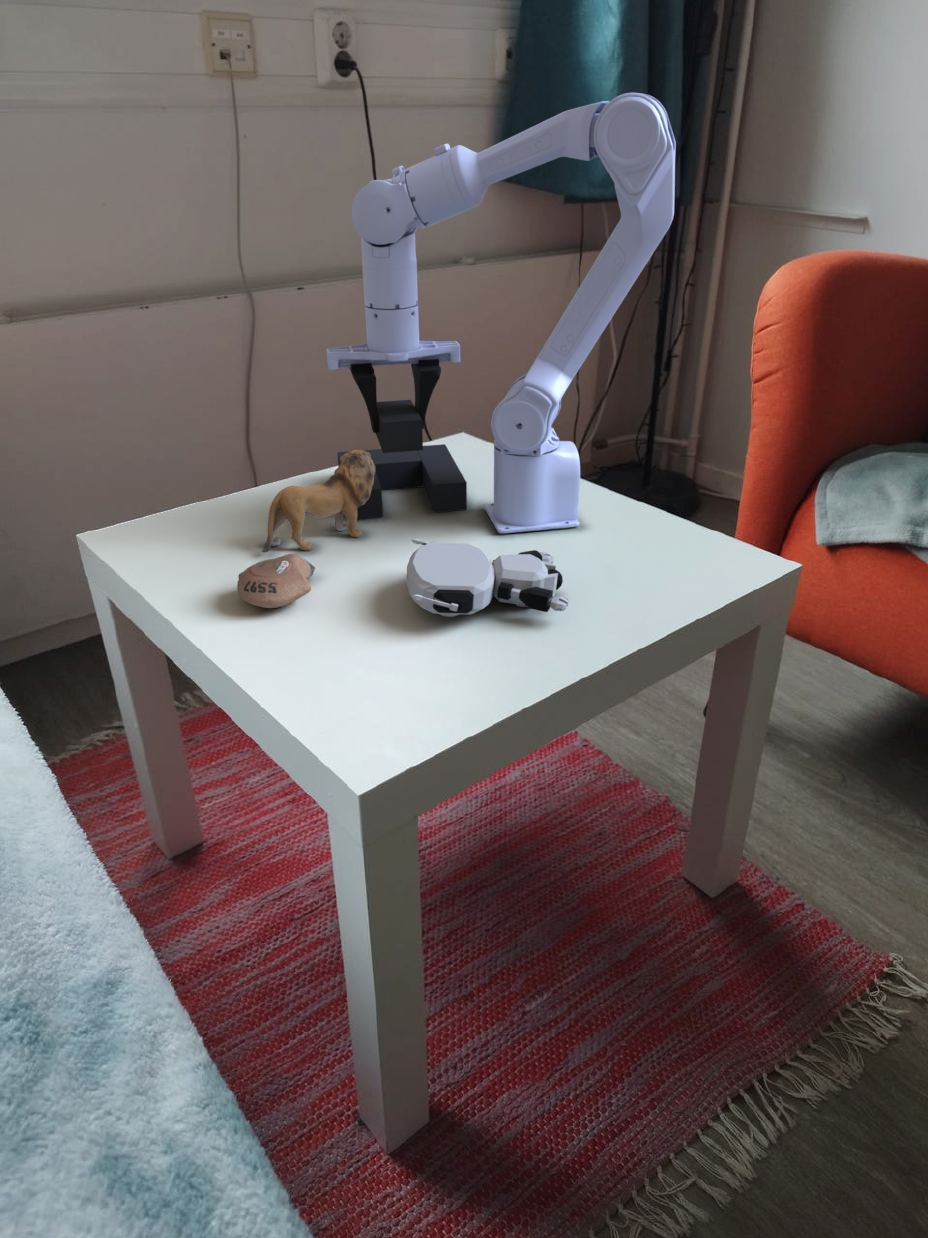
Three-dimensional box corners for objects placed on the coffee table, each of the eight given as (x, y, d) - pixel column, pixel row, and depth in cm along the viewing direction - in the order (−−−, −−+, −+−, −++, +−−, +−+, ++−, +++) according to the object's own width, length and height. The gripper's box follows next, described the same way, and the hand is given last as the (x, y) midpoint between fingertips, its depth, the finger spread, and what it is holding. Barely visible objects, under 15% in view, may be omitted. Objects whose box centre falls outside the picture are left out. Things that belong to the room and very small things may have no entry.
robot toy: (550, 577, 94) (405, 572, 92) (555, 537, 91) (406, 532, 90) (569, 637, 83) (405, 633, 82) (575, 594, 81) (407, 589, 79)
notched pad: (445, 469, 119) (445, 443, 117) (466, 509, 107) (466, 482, 105) (339, 477, 117) (337, 451, 115) (349, 520, 105) (346, 491, 103)
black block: (412, 428, 108) (411, 399, 106) (423, 450, 101) (422, 419, 99) (374, 431, 107) (372, 401, 105) (383, 453, 100) (381, 422, 98)
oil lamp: (339, 608, 88) (308, 577, 94) (340, 570, 86) (309, 541, 92) (249, 621, 84) (223, 588, 90) (249, 582, 82) (223, 550, 88)
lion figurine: (362, 514, 106) (357, 440, 102) (389, 528, 103) (385, 452, 98) (251, 549, 98) (240, 471, 94) (276, 566, 95) (266, 485, 90)
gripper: (325, 315, 92) (336, 444, 98) (465, 308, 94) (466, 434, 101) (321, 302, 98) (331, 424, 104) (452, 296, 100) (454, 416, 107)
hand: (397, 428), depth 103 cm, fingers closed on black block, 4 cm apart
